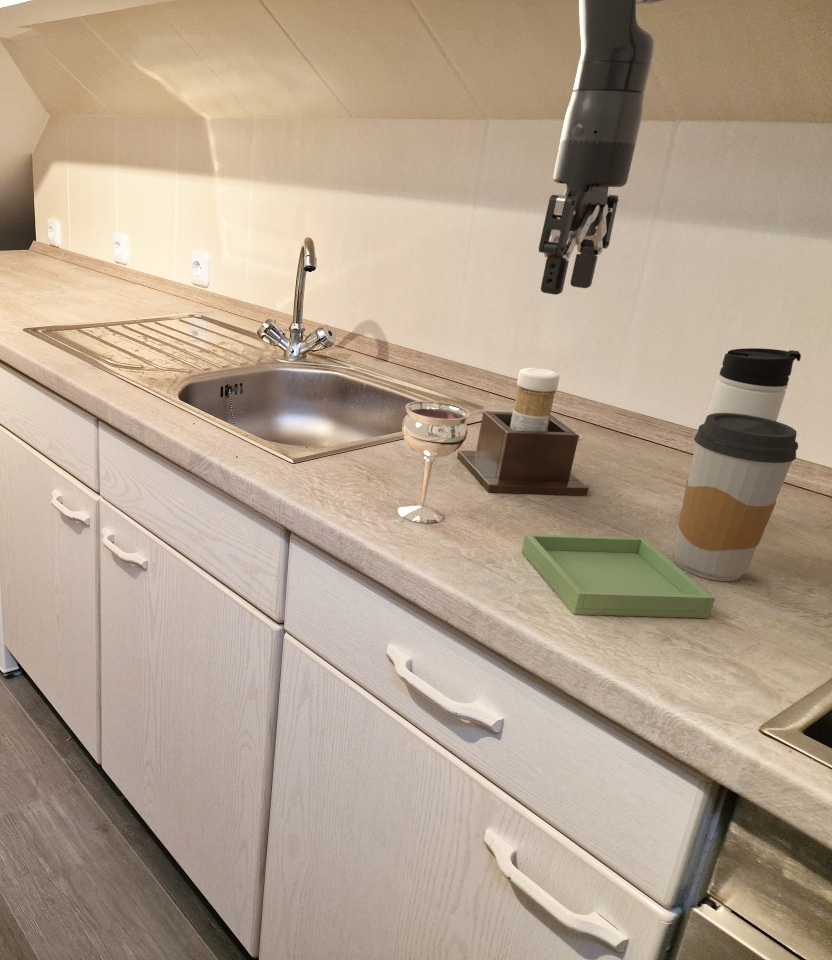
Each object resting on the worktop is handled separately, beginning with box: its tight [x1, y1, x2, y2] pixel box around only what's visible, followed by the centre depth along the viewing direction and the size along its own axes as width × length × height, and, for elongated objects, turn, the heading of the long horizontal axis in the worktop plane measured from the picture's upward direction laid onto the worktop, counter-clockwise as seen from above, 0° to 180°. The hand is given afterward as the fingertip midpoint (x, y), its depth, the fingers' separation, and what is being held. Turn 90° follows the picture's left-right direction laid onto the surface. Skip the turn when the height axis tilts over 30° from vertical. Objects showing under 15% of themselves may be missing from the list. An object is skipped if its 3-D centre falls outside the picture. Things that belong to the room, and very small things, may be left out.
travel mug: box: [678, 347, 802, 517], centre depth 92 cm, size 6×7×20 cm
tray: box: [521, 533, 716, 619], centre depth 81 cm, size 12×12×2 cm
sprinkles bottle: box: [510, 367, 560, 432], centre depth 104 cm, size 5×5×14 cm
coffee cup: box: [673, 413, 799, 582], centre depth 82 cm, size 8×8×15 cm
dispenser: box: [456, 410, 589, 497], centre depth 106 cm, size 12×12×7 cm
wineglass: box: [397, 400, 471, 524], centre depth 92 cm, size 7×7×12 cm
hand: (565, 290), depth 98 cm, fingers open, 8 cm apart
